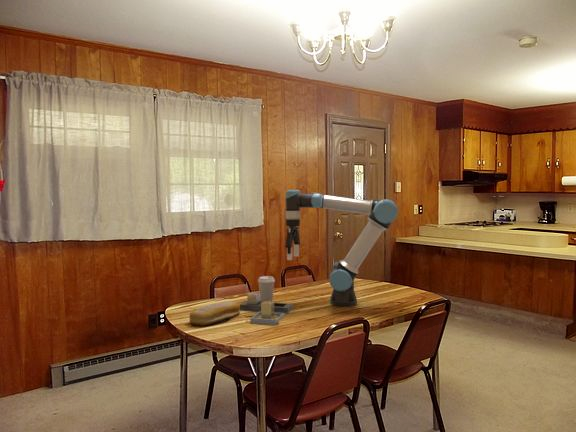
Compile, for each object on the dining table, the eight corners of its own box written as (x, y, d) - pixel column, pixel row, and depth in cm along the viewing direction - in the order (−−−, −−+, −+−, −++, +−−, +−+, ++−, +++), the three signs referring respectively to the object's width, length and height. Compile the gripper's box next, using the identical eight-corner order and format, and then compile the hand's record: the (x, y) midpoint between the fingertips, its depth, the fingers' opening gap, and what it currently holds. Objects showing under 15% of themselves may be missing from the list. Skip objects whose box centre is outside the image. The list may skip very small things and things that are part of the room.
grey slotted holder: (292, 311, 230) (292, 303, 230) (287, 315, 221) (287, 307, 221) (246, 307, 237) (246, 300, 237) (239, 312, 228) (239, 304, 228)
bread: (245, 316, 220) (245, 301, 220) (204, 329, 200) (203, 312, 199) (226, 312, 229) (226, 297, 228) (185, 324, 208) (185, 307, 208)
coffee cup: (272, 306, 239) (272, 279, 238) (255, 305, 241) (255, 278, 240) (276, 302, 249) (276, 276, 248) (260, 301, 250) (260, 275, 250)
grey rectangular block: (259, 308, 233) (259, 293, 232) (256, 310, 228) (256, 295, 227) (250, 307, 234) (250, 292, 234) (247, 309, 229) (247, 294, 229)
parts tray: (284, 317, 217) (284, 313, 217) (276, 325, 205) (276, 320, 205) (259, 315, 221) (259, 311, 221) (250, 323, 209) (250, 318, 208)
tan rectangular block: (274, 317, 215) (274, 301, 214) (271, 320, 210) (271, 304, 209) (264, 317, 216) (264, 300, 216) (261, 319, 211) (261, 303, 211)
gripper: (292, 217, 249) (292, 254, 250) (279, 219, 225) (279, 261, 226) (305, 217, 247) (305, 255, 248) (293, 220, 223) (293, 261, 224)
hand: (293, 258), depth 237 cm, fingers open, 13 cm apart
